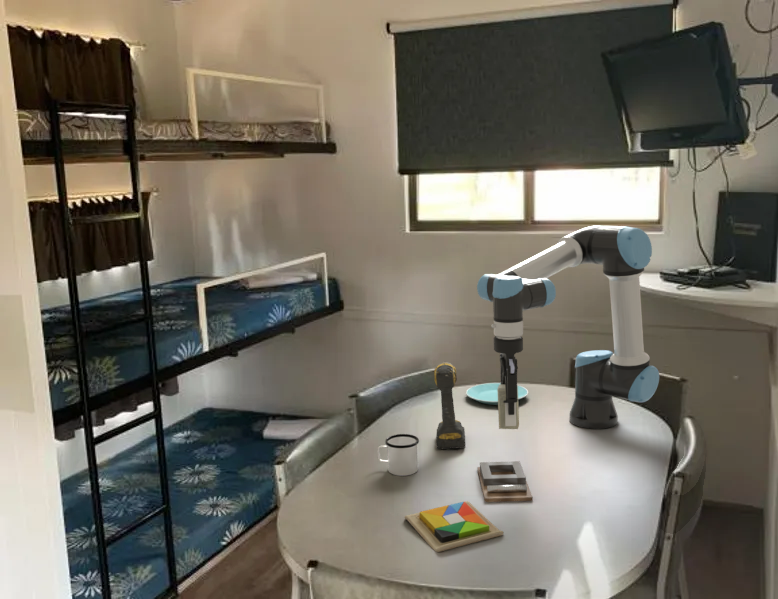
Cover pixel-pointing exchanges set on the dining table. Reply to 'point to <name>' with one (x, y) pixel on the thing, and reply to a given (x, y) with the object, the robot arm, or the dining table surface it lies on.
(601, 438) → the dining table surface
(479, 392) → the plate
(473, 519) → the wooden puzzle
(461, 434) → the cordless drill
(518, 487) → the rod
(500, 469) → the stand
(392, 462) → the mug
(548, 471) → the dining table surface
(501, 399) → the box
